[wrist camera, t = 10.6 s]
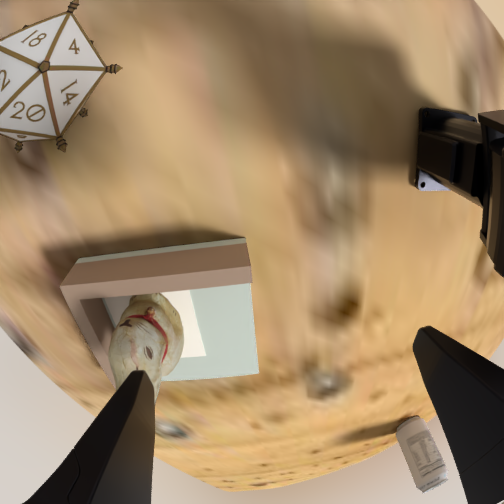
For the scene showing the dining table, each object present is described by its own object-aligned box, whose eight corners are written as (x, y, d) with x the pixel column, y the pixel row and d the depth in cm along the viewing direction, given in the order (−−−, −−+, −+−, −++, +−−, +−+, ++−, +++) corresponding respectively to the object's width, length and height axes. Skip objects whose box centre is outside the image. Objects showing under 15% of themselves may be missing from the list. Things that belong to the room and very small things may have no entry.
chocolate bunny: (203, 297, 22) (200, 415, 13) (175, 361, 25) (167, 461, 16) (132, 274, 20) (92, 385, 11) (116, 343, 23) (91, 441, 15)
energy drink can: (389, 435, 43) (413, 498, 30) (401, 419, 40) (430, 487, 27) (413, 427, 44) (439, 485, 31) (427, 411, 41) (457, 473, 28)
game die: (113, 69, 17) (176, 46, 11) (50, 166, 17) (71, 201, 11) (31, 12, 10) (48, -53, 4) (-40, 116, 10) (-83, 119, 4)
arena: (245, 237, 21) (250, 265, 17) (258, 367, 28) (262, 398, 24) (78, 258, 20) (59, 286, 17) (132, 375, 27) (126, 405, 24)
